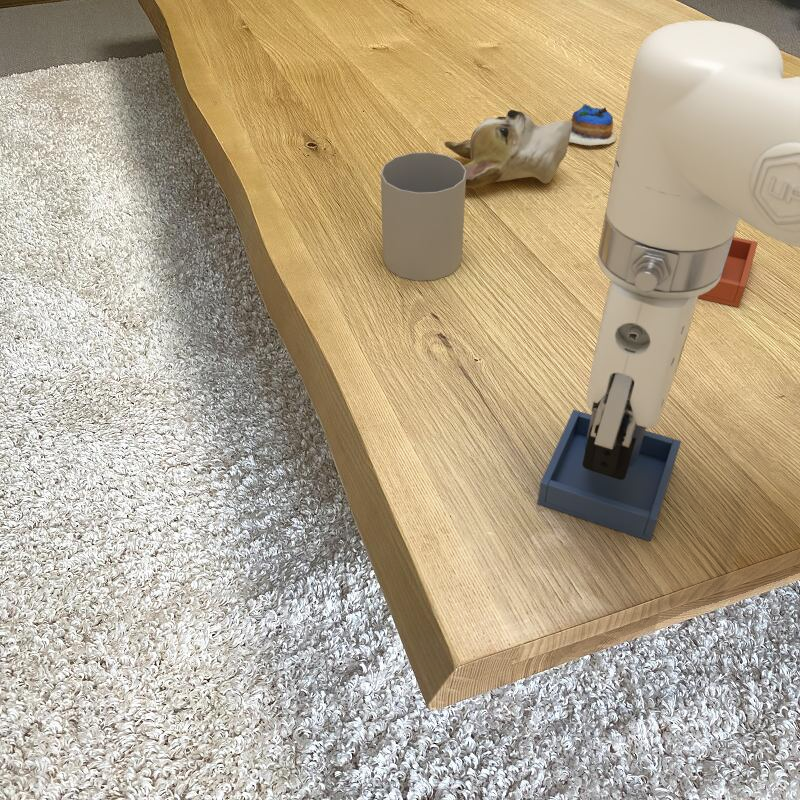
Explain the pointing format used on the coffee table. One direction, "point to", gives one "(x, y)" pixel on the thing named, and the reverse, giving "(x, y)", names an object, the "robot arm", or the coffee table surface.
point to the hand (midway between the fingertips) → (612, 448)
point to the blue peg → (637, 434)
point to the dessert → (592, 126)
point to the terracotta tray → (733, 274)
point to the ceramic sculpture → (513, 149)
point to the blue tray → (608, 482)
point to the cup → (423, 215)
